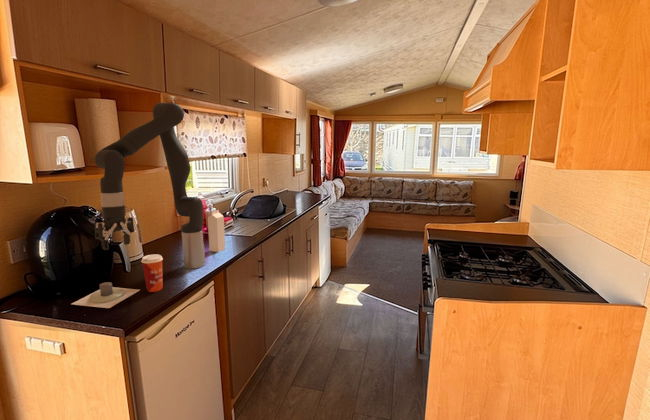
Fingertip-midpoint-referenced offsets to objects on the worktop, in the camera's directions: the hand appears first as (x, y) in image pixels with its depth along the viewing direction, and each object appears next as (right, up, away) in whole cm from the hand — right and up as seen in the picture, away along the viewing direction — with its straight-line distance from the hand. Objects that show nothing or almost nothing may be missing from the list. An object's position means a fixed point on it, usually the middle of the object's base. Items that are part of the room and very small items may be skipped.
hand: (116, 246), depth 133 cm
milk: (+20, -8, +60) cm, 64 cm away
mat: (-4, -19, 0) cm, 20 cm away
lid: (-4, -19, 0) cm, 19 cm away
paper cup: (+11, -18, +8) cm, 23 cm away
